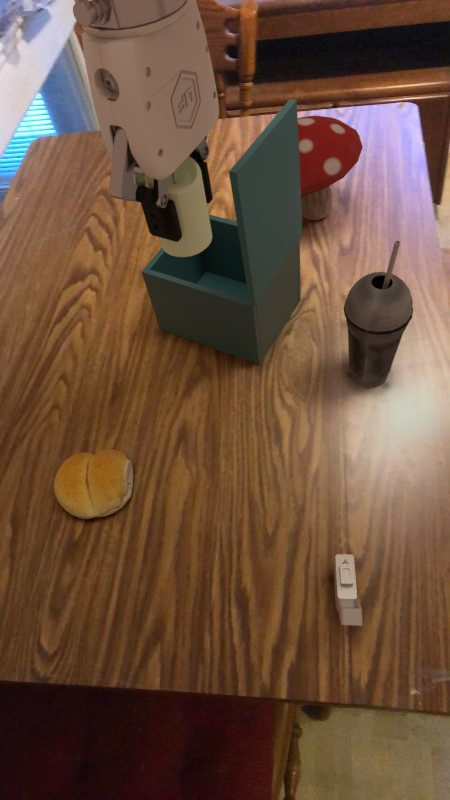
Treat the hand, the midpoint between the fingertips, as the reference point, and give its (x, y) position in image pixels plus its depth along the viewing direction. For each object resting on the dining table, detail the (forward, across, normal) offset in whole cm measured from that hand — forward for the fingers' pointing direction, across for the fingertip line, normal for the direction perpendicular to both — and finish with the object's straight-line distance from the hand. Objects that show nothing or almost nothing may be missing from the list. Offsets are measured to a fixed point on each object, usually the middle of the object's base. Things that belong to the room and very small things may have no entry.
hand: (181, 215), depth 52 cm
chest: (+25, +10, +4) cm, 28 cm away
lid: (+6, +10, -3) cm, 12 cm away
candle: (+3, 0, 0) cm, 3 cm away
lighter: (+26, -19, -25) cm, 40 cm away
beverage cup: (+25, +8, -17) cm, 32 cm away
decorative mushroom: (+25, +34, +3) cm, 43 cm away
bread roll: (+25, -19, +6) cm, 32 cm away
